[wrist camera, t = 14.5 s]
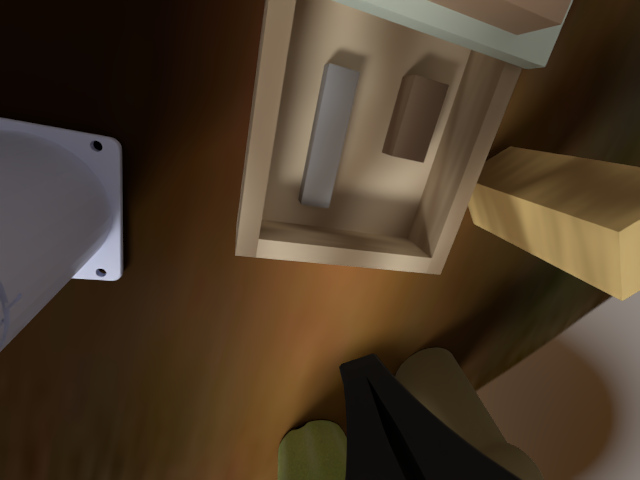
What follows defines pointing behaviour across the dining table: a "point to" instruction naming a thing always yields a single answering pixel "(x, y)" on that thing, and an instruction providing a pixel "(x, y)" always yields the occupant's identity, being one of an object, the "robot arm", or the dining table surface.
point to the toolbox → (363, 139)
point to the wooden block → (565, 213)
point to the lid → (481, 24)
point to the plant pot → (313, 453)
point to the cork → (461, 408)
